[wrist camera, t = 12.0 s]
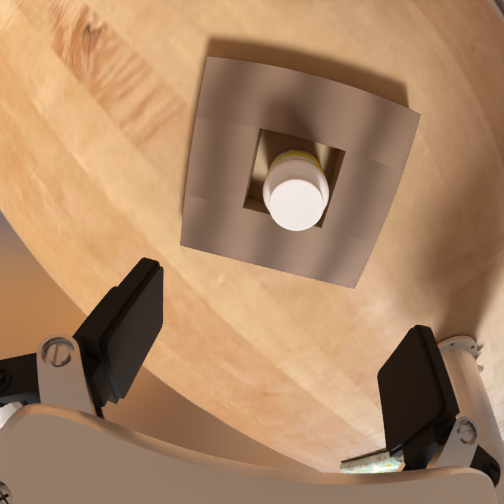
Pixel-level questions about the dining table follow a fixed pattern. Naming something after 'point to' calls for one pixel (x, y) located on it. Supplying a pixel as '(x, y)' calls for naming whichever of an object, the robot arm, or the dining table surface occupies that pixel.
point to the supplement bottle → (295, 190)
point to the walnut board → (303, 126)
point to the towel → (373, 464)
